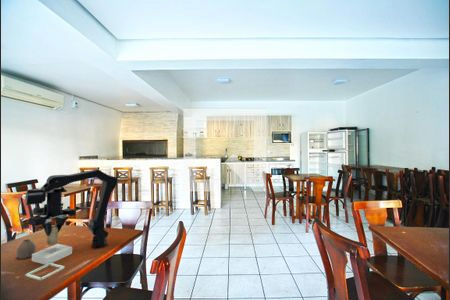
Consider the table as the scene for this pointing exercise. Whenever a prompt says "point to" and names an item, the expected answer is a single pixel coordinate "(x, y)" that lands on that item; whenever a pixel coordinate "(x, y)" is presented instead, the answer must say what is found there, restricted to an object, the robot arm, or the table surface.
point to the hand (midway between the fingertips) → (52, 234)
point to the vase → (26, 249)
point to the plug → (53, 235)
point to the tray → (47, 274)
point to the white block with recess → (51, 254)
